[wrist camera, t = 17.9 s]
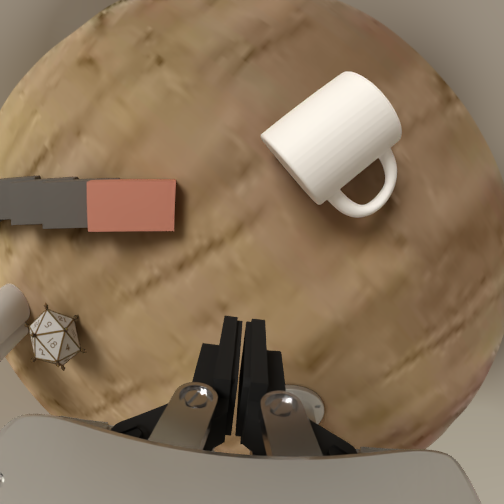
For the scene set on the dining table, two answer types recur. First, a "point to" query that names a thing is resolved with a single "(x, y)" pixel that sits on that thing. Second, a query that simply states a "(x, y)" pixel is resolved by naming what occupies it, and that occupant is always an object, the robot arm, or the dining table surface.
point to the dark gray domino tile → (27, 200)
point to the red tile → (131, 205)
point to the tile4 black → (1, 194)
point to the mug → (338, 141)
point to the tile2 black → (65, 203)
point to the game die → (54, 338)
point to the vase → (12, 318)
